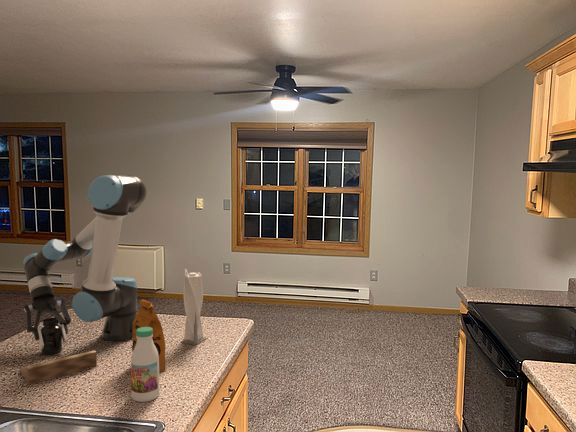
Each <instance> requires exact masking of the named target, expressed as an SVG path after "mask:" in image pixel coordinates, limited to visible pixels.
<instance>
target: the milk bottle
mask: <svg viewBox="0 0 576 432" xmlns="http://www.w3.org/2000/svg"><path fill="white" fill-rule="evenodd" d="M152 336H153V329H152V328H151V327H141V328H138V329H137V330H136V338H137V343H136V346H135V348H134V350H133V353H131V359H130V360H131V362H130V378H131V380H130V383H131V384H130V385H131V386H130V387H131V388H130V389H131V390H130V391H131V398H132V400H133V401H135V402H139V403H145V402H151V401H153V400H155V399H157V398H158V397H159V395H160V372H159V356H158V351H157V349H156V347H155V345H154V343H153V340H152Z"/></svg>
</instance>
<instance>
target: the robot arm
mask: <svg viewBox="0 0 576 432" xmlns="http://www.w3.org/2000/svg"><path fill="white" fill-rule="evenodd" d="M87 197H88V198H87V199H88V200H89V203H90V205H92V207H93V208H92V211H93V213H94V214H95V215H96V216H95V218H93V219H92V220H91V221H90V222H89V223H88V224H87V225H86V226H85V227H84V228H83V229H82V230H81V231H80V232H79V233H78V234H77V235H76V236H75V237H74V238H73V239H71V240H70V241H69V240H68V241H63V240H61V239H57V238H54V239H53V238H52V239H51V240H49V241H48V242H47V243H45V244H44V245H43V247H42V248H41V249H40V250H39V251H38V252H37V253H34V252H33V253H30V254H28V255H26V256H25V257H24V259H23V261H22V262H23V271H24V273H25V278H26V282H27V284H28V285H27V286H28V290H29V293H30V294H29V295H30V300H31V304H29V305H27V304H25V305H24V307H23V312H24V314H25V323H26V326H25V327H26V332H27V333H32V334H33V335H34V336H33V337H34V341H38V345H39V349H40V350H41V349H43V347H44V343H43V338H42V334H41V328H38V327H39V324H40V319H41V315H42V314H45V313H50V315H52V316H53V317H55V318H58V325H60V326H61V328H62V344H63V345H66V344H67V342H68V337H67V334H68V333H69V330H68V326H69V325H70V324H71V321H72V319H71V316H70V314H69V311H68V309H67V307H66V300H65V299H64V298H62V299H61V300H57V299H56V297H55V294H54V290H53V286H52V282H51V278H50V274H49V271H51V270H52V269H53V268H54V266H56V265H57V264H59V263H64V262H68V261H73V260H78V259H83V258H85V257H89V256H90V259H89V266H88V272H87V278H85V279H84V280H83V281H82V283H81V289H80V291H78V292H77V293H76V294H74V296H73V297H72V301H71V306H72V310H73V313H74V314H75V315H76V317H77V318H78V319H79V320H81V321H82V322H85V323H93V322H96V321H97V322H98V321H100V320H101V319H104V318H105V320H104V323H103V327H102V329H101V336H102V337H101V338H103V339H104V340H106V341H113V342H118V341H119V342H121V341H128V340H132V338H133V321H134V319H135V317H136V315H137V313H138V285H137V280H136V279H135V278H133V277H123V276H117V277H116V276H115V277H114V273H115V269H116V268H115V267H116V261H117V255H118V250H119V243H120V236H121V229H122V225H123V224H122V223H123V219H124V218H125V217H127V216H128V214H132V213H134V212H135V211H136V210H138V208H140V206H141V205H142V204H143V203H144V201H145V200H146V198H147V187H146V184H145V183H144V181H143V180H142V179H140V178H139V177H137V176H135V175H131V174H129V175H125V174H124V175H120V174H118V175H117V174H107V175H101V176H98V177H96V178H95V179H94V180H93V181H92V182H91V183H90V185H89V187H88V192H87ZM56 305H57V306H58V307H59V309H60V311H58V309H57V308H56ZM32 309H33V310H34V311H36V316H35V320H34V321H35V322H34V326H32V314H31V311H32ZM60 312H61V313H62V315H61V313H60Z"/></svg>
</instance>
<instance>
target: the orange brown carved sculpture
mask: <svg viewBox="0 0 576 432" xmlns="http://www.w3.org/2000/svg"><path fill="white" fill-rule="evenodd" d="M138 304H139V305H140V307H139V310H137V315H136V317H135V319H134V321H133V338H132V339H131V340H132V346H131V352H132V353H133V350H134V348H135V346H136V343H137V338H136V330H137V329H138V328H141V327H151V328H152V329H153V336H152V340H153V343H154V345H155V347H156V349H157V351H158V356H159V373H161V372H164V371H166V362H167V361H166V340H165V335H164V330H163V327H162V326H163V325H162V323H161V321H160V319H159V316H158V315H157V313H156V311H155V307H154V306H153V303H152V302H150V301H148V300H145V299H141V300H140V301H139V303H138ZM132 353H131V354H132Z"/></svg>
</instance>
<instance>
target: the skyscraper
mask: <svg viewBox="0 0 576 432" xmlns="http://www.w3.org/2000/svg"><path fill="white" fill-rule="evenodd" d="M203 286H204V285H203V276H202V273H201V272H200V271H198V272H188V269H187V268H184V280H183V295H182V296H183V305H184V311H185V316H186V317H185V318H186V319H185V325H184V326H185V327H184V335H183V339H182V340H180V342H181V343H183V344H187V345H188V344H189V345H194V346H198V345H200V344H201V343H202V342H204V341H206V340H207V337H204V333H203V326H202V324H203V323H202V320H201V312H202V306H203V300H204V287H203Z"/></svg>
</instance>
